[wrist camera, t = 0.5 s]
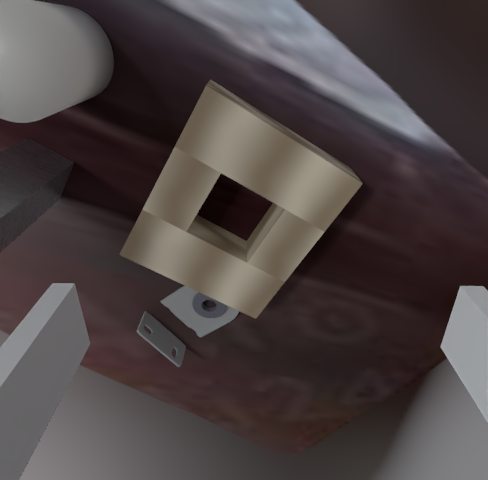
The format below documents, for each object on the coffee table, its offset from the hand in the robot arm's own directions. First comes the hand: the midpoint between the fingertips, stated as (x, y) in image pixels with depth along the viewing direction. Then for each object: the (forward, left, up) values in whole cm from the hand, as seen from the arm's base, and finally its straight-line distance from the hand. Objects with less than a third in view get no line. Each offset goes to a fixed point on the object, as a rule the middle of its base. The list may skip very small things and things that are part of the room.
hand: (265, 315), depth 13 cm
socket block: (+1, -5, -22) cm, 22 cm away
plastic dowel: (-16, -1, -22) cm, 27 cm away
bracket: (+4, -18, -23) cm, 29 cm away
